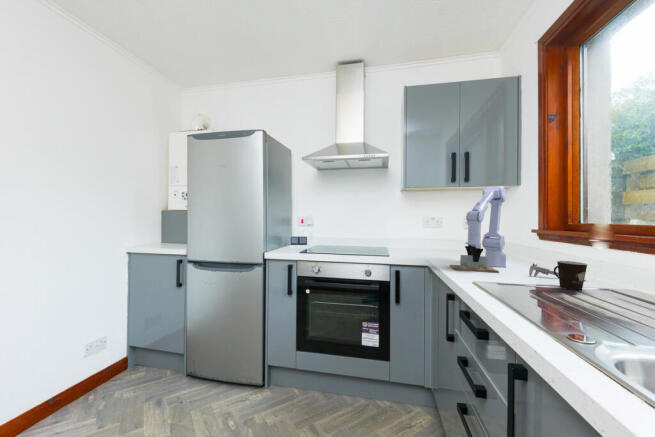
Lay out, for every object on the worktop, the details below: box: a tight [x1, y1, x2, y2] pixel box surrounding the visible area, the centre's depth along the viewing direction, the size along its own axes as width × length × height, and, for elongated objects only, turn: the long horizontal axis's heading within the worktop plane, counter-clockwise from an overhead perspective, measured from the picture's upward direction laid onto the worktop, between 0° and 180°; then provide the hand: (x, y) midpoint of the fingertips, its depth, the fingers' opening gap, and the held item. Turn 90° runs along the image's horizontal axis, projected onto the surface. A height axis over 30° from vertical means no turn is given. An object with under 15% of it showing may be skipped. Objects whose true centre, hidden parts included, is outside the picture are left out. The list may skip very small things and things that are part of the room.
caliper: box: [528, 263, 587, 282], centre depth 121 cm, size 20×1×6 cm, turn 67°
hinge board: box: [449, 263, 500, 274], centre depth 137 cm, size 20×10×3 cm, turn 78°
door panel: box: [459, 254, 487, 268], centre depth 137 cm, size 12×2×6 cm, turn 78°
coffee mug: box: [553, 260, 588, 292], centre depth 104 cm, size 12×9×10 cm
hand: (473, 260), depth 137 cm, fingers open, 7 cm apart
